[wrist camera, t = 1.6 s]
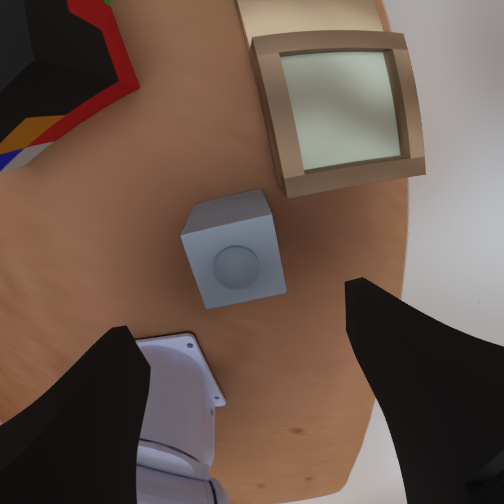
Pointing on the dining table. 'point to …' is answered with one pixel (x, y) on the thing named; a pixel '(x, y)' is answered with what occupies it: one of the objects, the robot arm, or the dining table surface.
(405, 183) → the dining table surface
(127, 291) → the dining table surface
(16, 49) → the puzzle toy
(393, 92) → the socket block
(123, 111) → the dining table surface
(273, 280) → the stud block
